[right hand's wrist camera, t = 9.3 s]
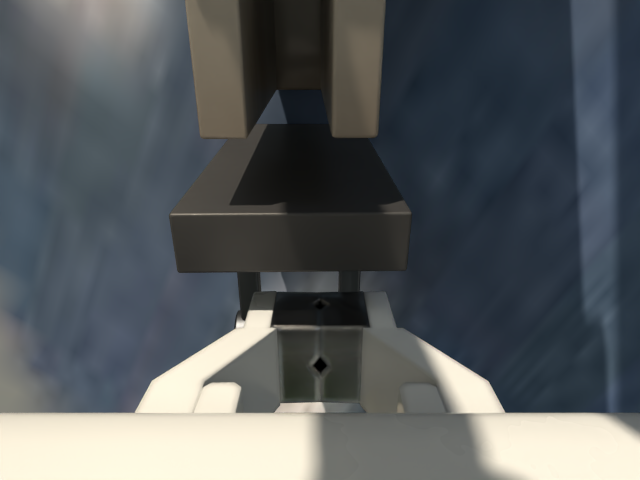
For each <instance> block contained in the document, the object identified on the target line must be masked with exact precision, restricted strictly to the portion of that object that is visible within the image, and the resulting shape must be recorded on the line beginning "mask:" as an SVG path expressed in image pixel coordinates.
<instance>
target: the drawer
mask: <svg viewBox="0 0 640 480" xmlns="http://www.w3.org/2000/svg"><path fill="white" fill-rule="evenodd" d="M185 4H186V13H187V22H188V31H189V40H190V49H191V58H192V67H193V76H194V85H195V94H196V103H197V112H198V121H199V130H200V136H201V138H203V139H228V140H227V141H226V143H225V144H224V145H223V146H222V148H221V149H220V150H219V152H218V153H217V154H216V155H215V157H214V158H213V159H212V160H211V162H210V163H209V164H208V166H207V167H206V168H205V169H204V171H203V172H202V173H201V174H200V176H199V177H198V178H197V180H196V181H195V182H194V183H193V185H192V186H191V187H190V188H189V190H188V191H187V192H186V194H185V195H184V196H183V197H182V199H181V200H180V201H179V203H178V204H177V205H176V206H175V208H174V209H173V210H172V211H171V213H170V214H169V219H170V225H171V232H172V238H173V245H174V251H175V258H176V265H177V270H178V272H179V273H204V272H237V275H238V287H239V298H240V310H239V311H238V312H237V315H236V319H235V327H234V329H236V328H243V327H244V324H245V320H246V317H247V314H248V310H249V307H250V304H251V300H252V297H253V294H254V293H255V292H261V280H260V272H311V271H339V289H338V292H360V271H405V270H406V269H407V262H408V251H409V241H410V231H411V220H412V213H411V211H410V209H409V207H408V206H407V204H406V202H405V200H404V199H403V197H402V195H401V194H400V192H399V190H398V189H397V187H396V185H395V183H394V182H393V180H392V178H391V177H390V175H389V173H388V171H387V170H386V168H385V166H384V165H383V163H382V161H381V159H380V158H379V156H378V154H377V153H376V151H375V149H374V148H373V146H372V144H371V142H370V141H369V139H368V138H375V137H377V135H378V129H379V111H380V94H381V77H382V59H383V42H384V24H385V7H386V0H185ZM276 90H321V92H322V96H323V101H324V105H325V109H326V113H327V118H328V122H329V124H256V122H257V121H258V119H259V118H260V116H261V114H262V113H263V111H264V109H265V108H266V106H267V104H268V103H269V101H270V99H271V98H272V96H273V94H274V93H275V91H276Z"/></svg>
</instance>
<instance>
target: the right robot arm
mask: <svg viewBox="0 0 640 480" xmlns="http://www.w3.org/2000/svg"><path fill="white" fill-rule="evenodd" d="M301 402H338V403H360V405H361V407H362V408H363V409H364V410H365V411H366V413H274V412H275V411H276V409H277V408H278V407H279V406H280V403H301ZM0 480H640V413H505V411H504V409H503V407H502V406H501V404H500V402H499V400H498V398H497V396H496V394H495V393H494V391H493V389H492V387H491V385H490V383H489V381H487V380H486V379H484V378H482V377H481V376H479V375H478V374H476V373H474V372H473V371H471V370H470V369H468V368H466V367H465V366H463V365H462V364H460V363H458V362H457V361H455V360H454V359H452V358H450V357H449V356H447V355H446V354H444V353H442V352H441V351H439V350H438V349H436V348H434V347H433V346H431V345H430V344H428V343H426V342H425V341H423V340H422V339H420V338H418V337H417V336H415V335H414V334H412V333H410V332H409V331H407V330H406V329H404V328H397V327H396V324H395V320H394V317H393V314H392V310H391V307H390V304H389V301H388V297H387V294H386V292H384V291H375V292H363V291H360V292H276V291H263V292H255V293H254V294H253V297H252V300H251V304H250V307H249V310H248V314H247V317H246V320H245V324H244V327H243V328H236V329H234V330H233V331H231V332H230V333H228V334H226V335H225V336H223V337H222V338H220V339H218V340H217V341H215V342H214V343H212V344H210V345H209V346H207V347H205V348H204V349H202V350H201V351H199V352H197V353H196V354H194V355H193V356H191V357H189V358H188V359H186V360H185V361H183V362H181V363H180V364H178V365H177V366H175V367H173V368H172V369H170V370H169V371H167V372H165V373H164V374H162V375H161V376H159V377H157V378H156V379H154V380H153V381H152V382H151V384H150V386H149V387H148V389H147V391H146V393H145V395H144V397H143V398H142V400H141V402H140V404H139V406H138V408H137V409H136V411H135V413H0Z"/></svg>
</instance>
